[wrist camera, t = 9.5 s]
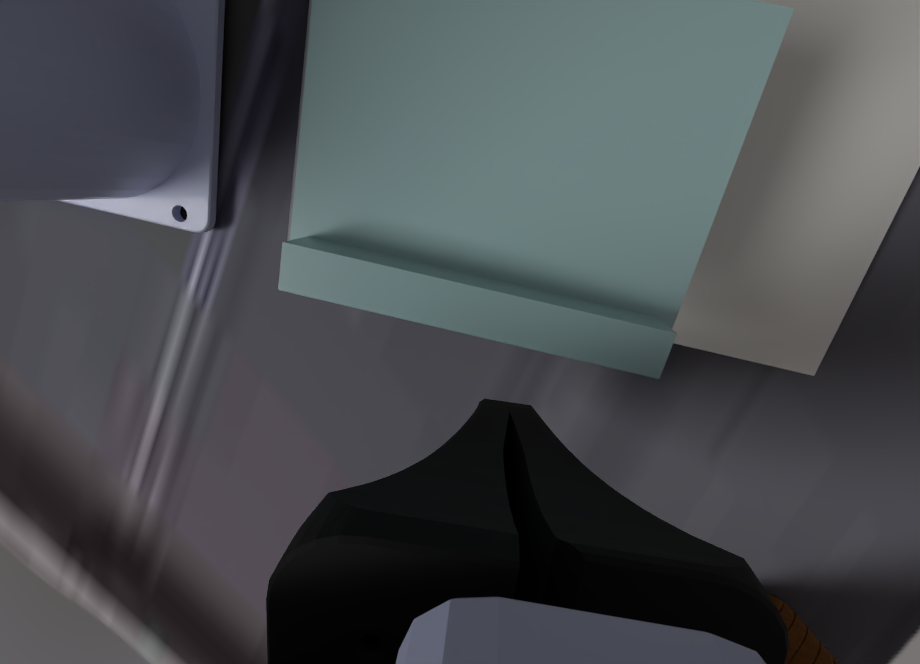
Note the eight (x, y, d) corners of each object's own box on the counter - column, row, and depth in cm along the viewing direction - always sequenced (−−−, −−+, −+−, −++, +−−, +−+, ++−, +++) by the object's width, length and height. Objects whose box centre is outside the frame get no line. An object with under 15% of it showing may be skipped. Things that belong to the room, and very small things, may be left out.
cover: (300, 269, 11) (259, 285, 9) (336, -69, 9) (291, -138, 7) (648, 350, 11) (678, 384, 9) (770, 24, 9) (842, -23, 7)
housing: (333, 260, 15) (283, 280, 12) (423, -457, 10) (382, -791, 7) (804, 370, 15) (894, 423, 11) (1145, -321, 10) (1496, -602, 6)
